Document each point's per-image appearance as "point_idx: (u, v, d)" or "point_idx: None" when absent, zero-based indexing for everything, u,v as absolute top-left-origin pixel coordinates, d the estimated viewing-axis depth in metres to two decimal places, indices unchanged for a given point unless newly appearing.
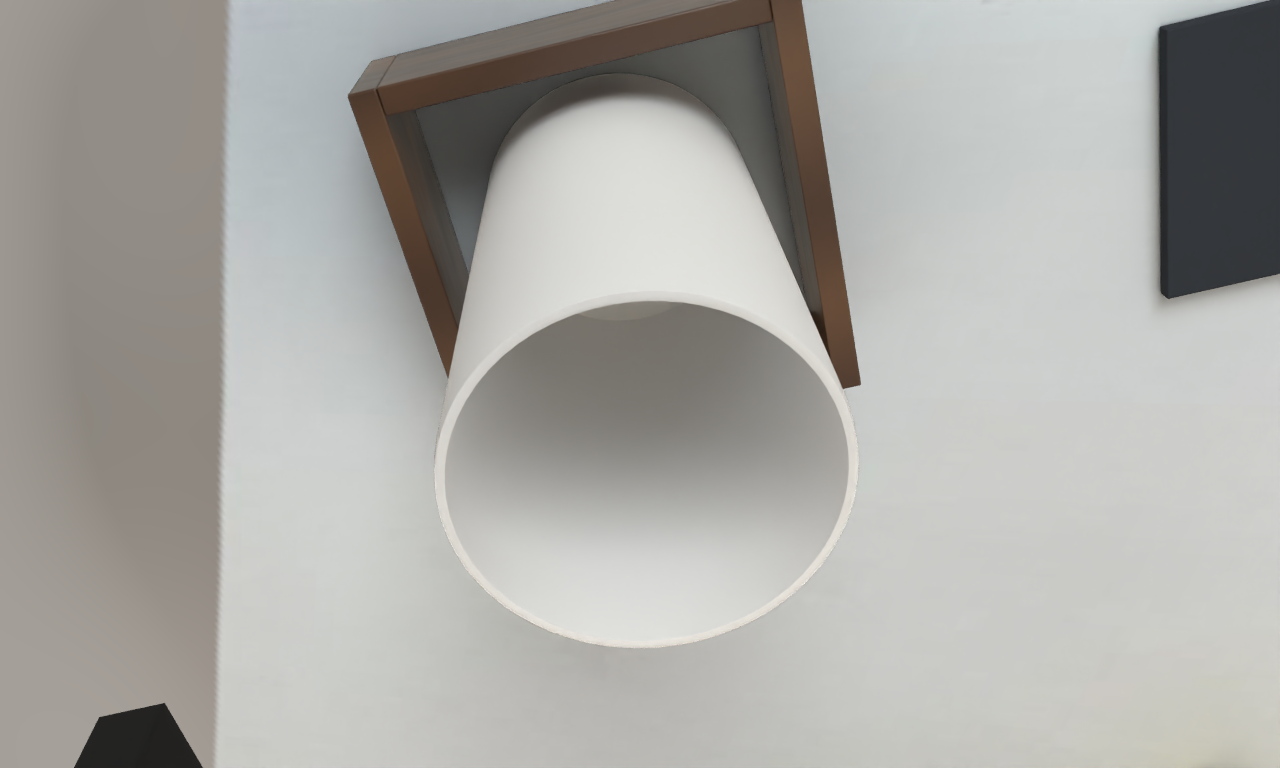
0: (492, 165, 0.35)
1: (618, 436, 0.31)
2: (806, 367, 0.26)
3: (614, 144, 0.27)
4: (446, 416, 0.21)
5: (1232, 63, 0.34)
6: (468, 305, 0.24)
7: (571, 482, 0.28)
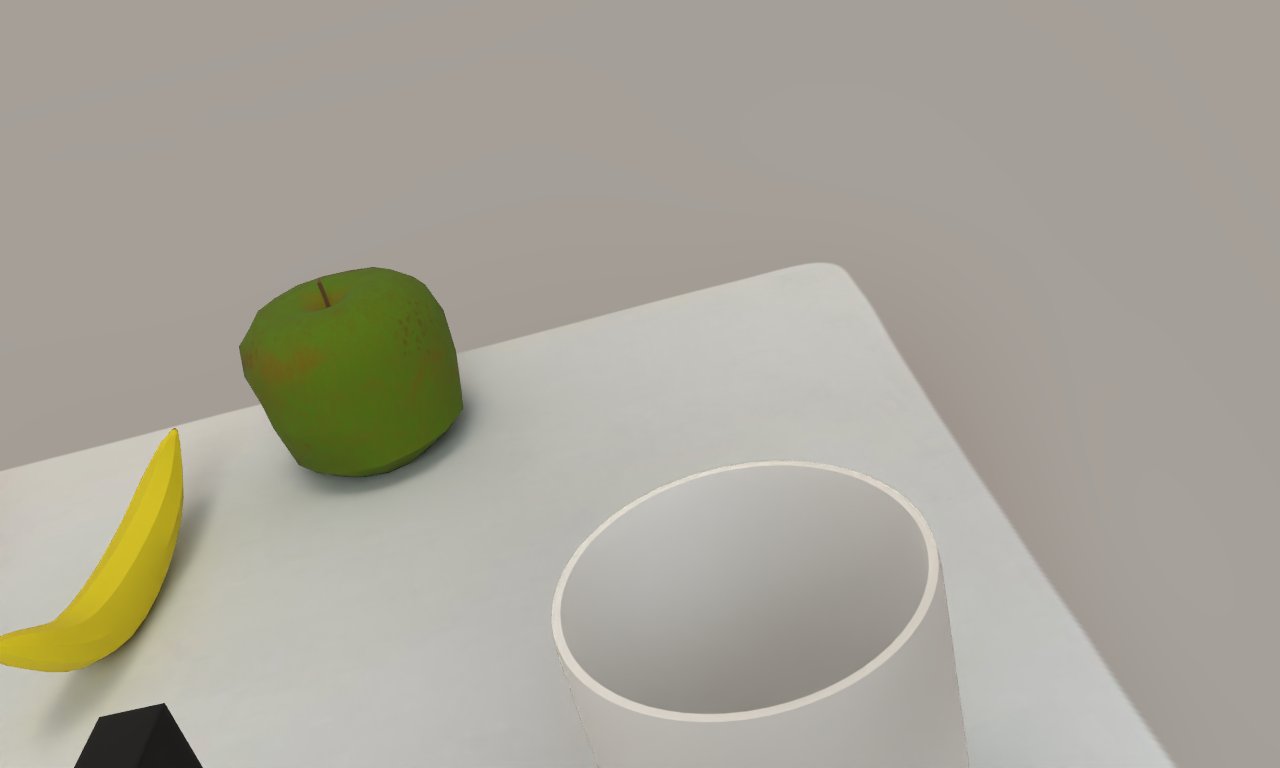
0: None
1: None
2: None
3: None
4: (937, 553, 0.23)
5: None
6: (961, 715, 0.25)
7: (787, 639, 0.30)
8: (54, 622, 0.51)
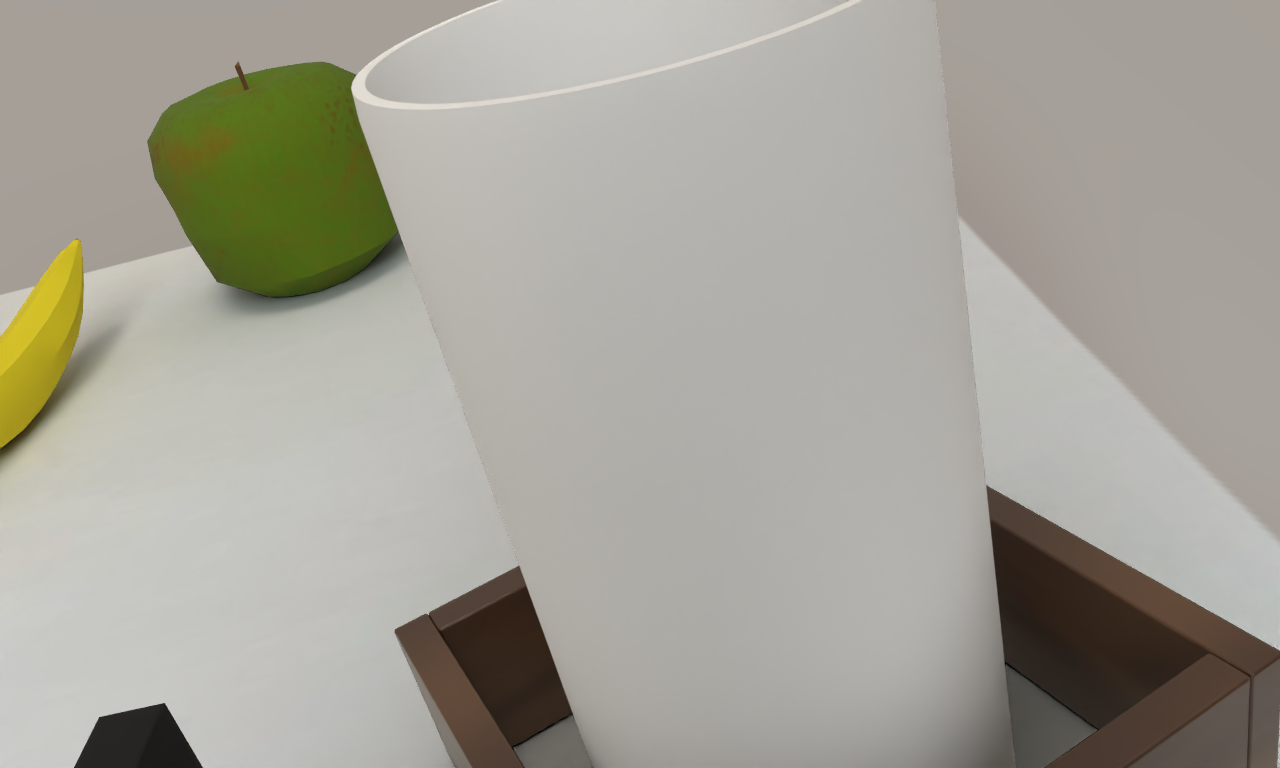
0: None
1: None
2: None
3: (862, 635, 0.17)
4: None
5: None
6: None
7: None
8: None
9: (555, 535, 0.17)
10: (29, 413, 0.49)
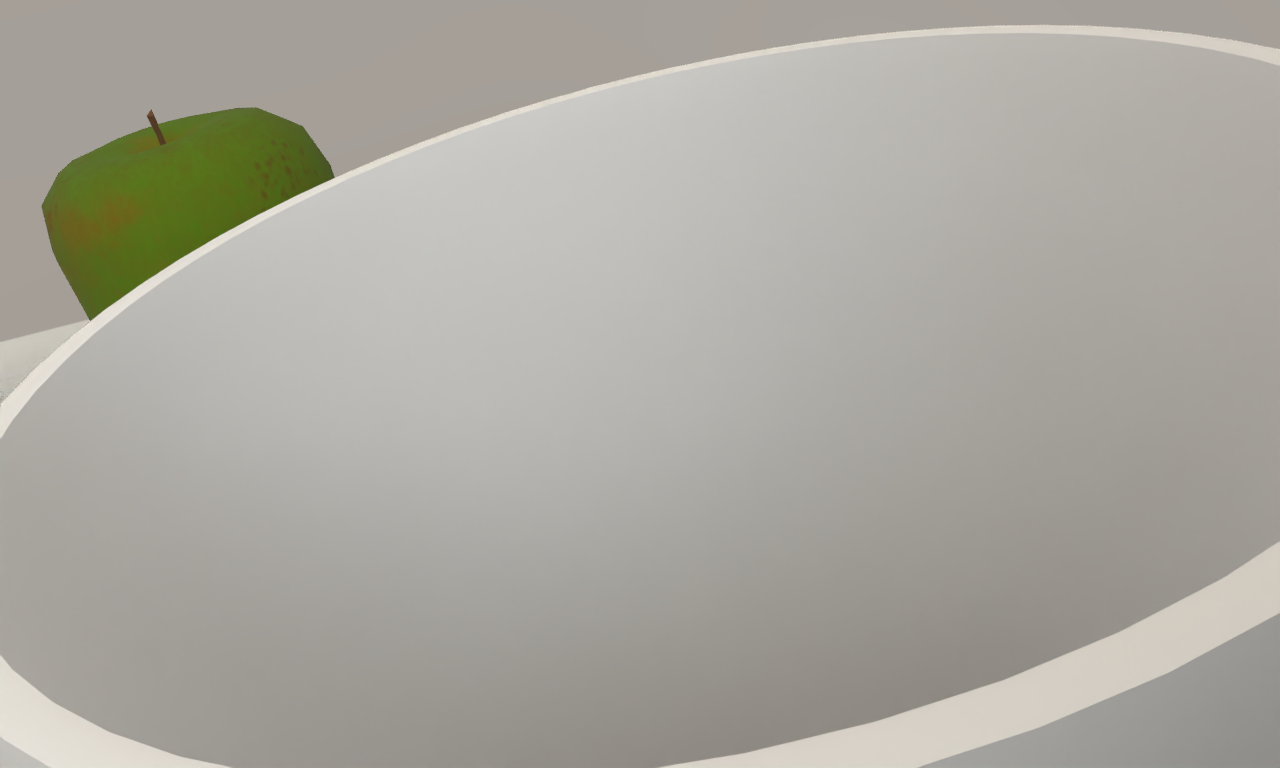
0: None
1: (741, 750, 0.14)
2: None
3: None
4: None
5: None
6: None
7: (812, 557, 0.12)
8: None
9: None
10: None
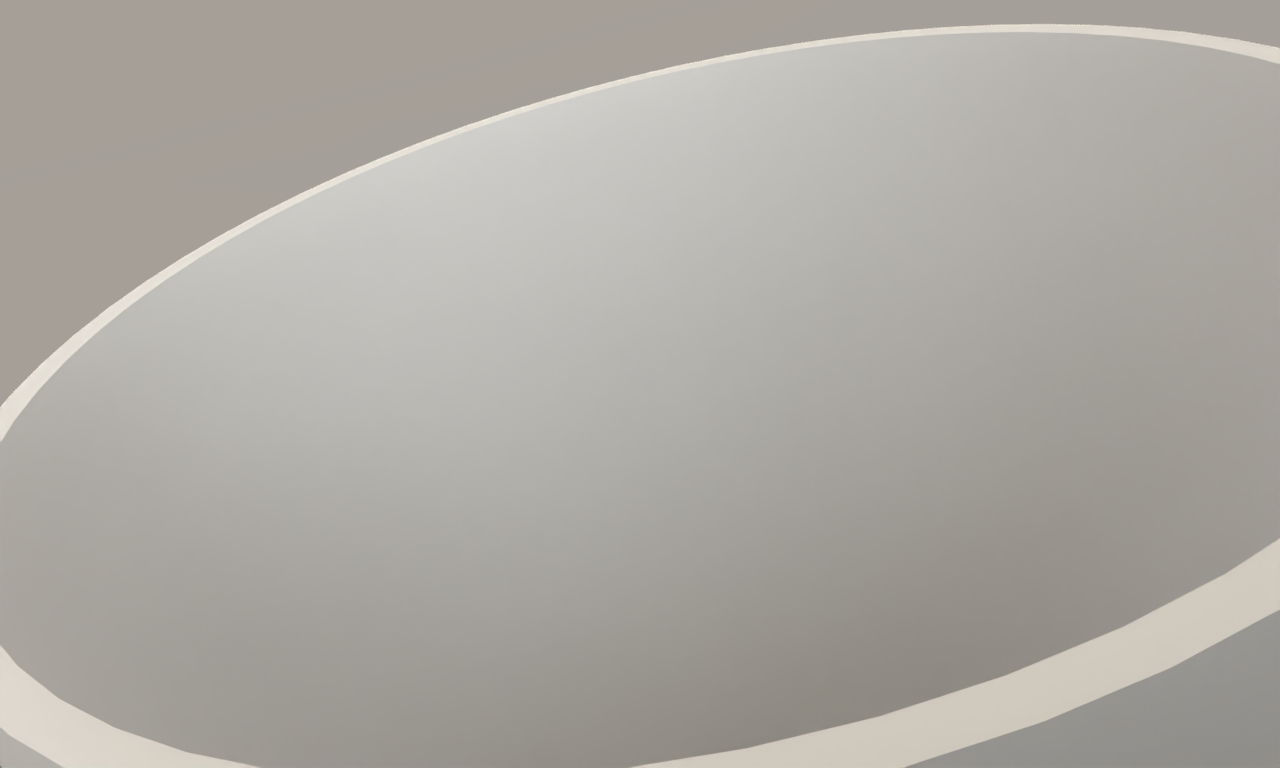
0: None
1: (741, 749, 0.14)
2: None
3: None
4: None
5: None
6: None
7: (814, 556, 0.12)
8: None
9: None
10: None
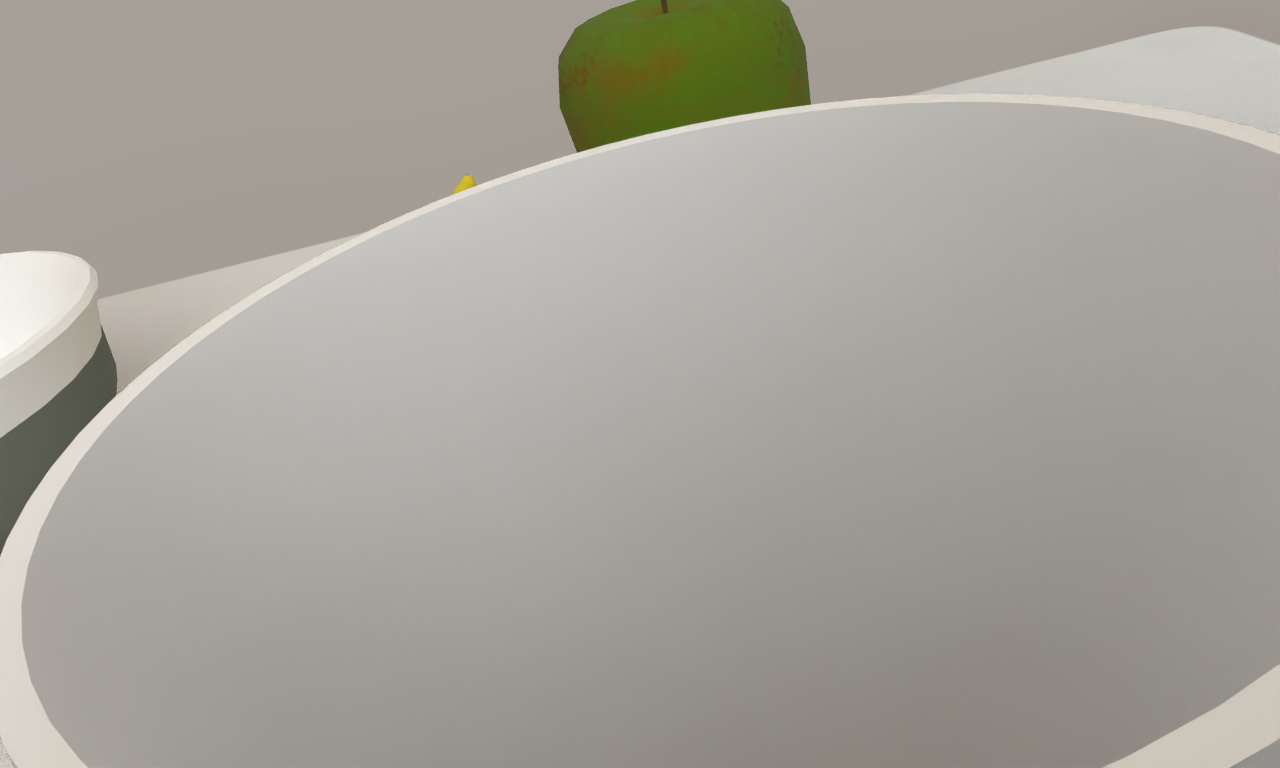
0: None
1: None
2: None
3: None
4: None
5: None
6: None
7: (820, 594, 0.13)
8: None
9: None
10: None
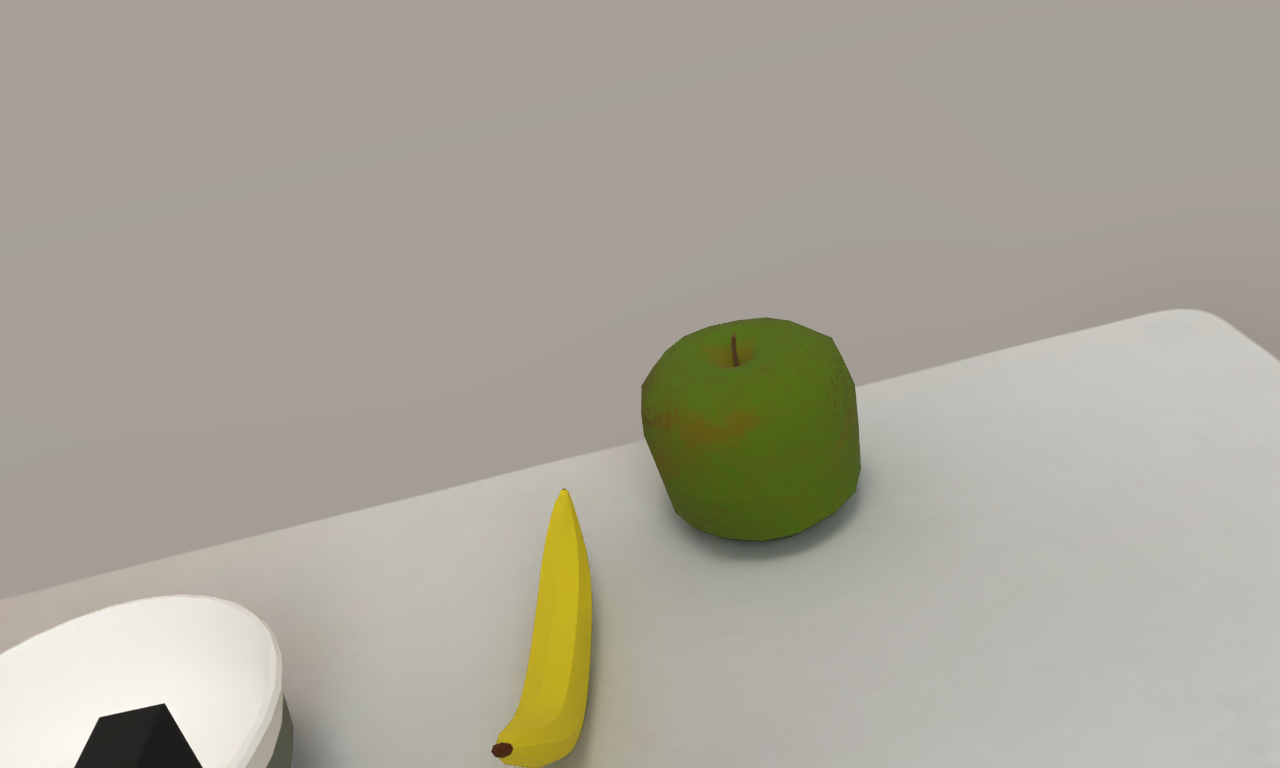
0: None
1: None
2: None
3: None
4: None
5: None
6: None
7: None
8: (534, 713, 0.47)
9: None
10: None
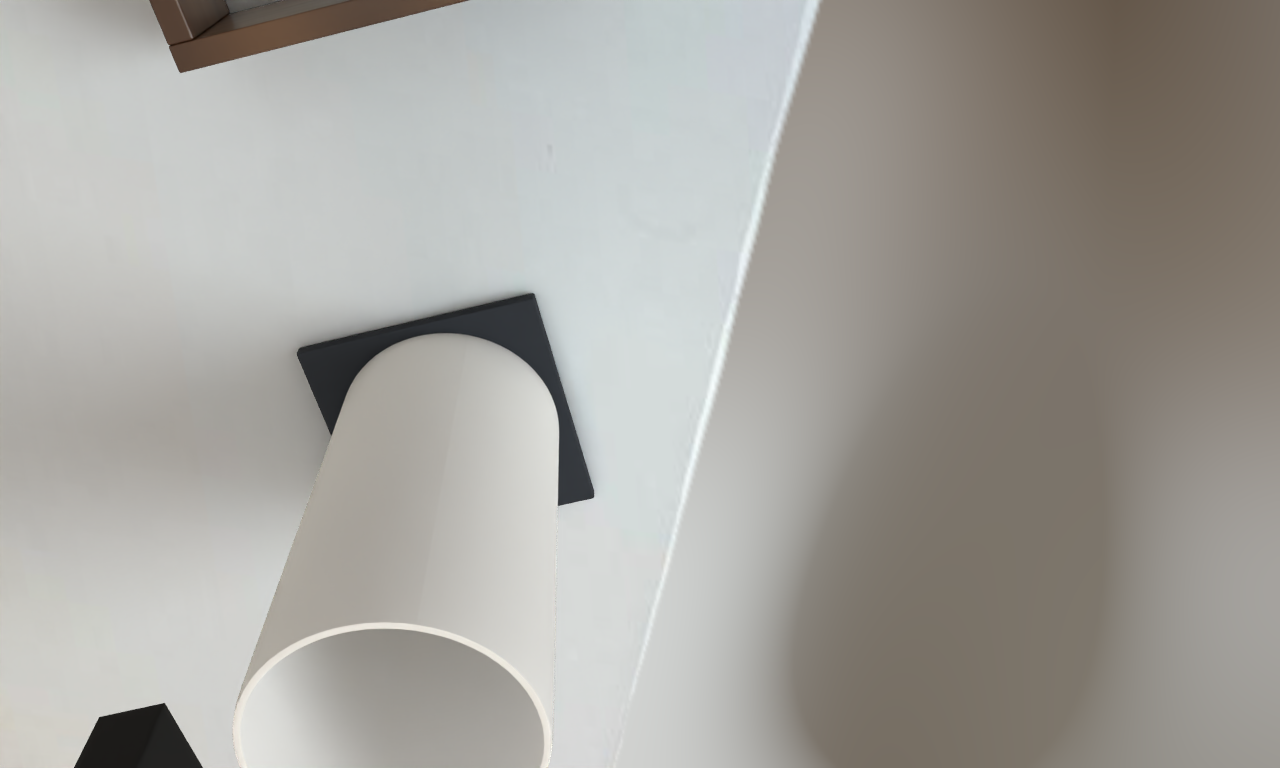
0: (479, 338, 0.42)
1: None
2: (432, 729, 0.35)
3: (555, 530, 0.37)
4: (445, 630, 0.28)
5: None
6: (470, 528, 0.32)
7: None
8: None
9: None
10: None
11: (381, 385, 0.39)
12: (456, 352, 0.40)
